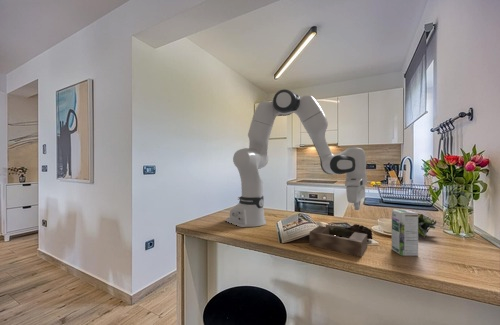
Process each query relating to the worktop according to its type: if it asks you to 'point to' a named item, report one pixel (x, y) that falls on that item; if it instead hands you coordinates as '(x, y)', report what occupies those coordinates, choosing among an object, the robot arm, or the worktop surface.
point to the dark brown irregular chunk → (349, 230)
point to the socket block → (338, 241)
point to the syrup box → (405, 232)
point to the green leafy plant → (425, 224)
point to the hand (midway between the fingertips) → (357, 209)
